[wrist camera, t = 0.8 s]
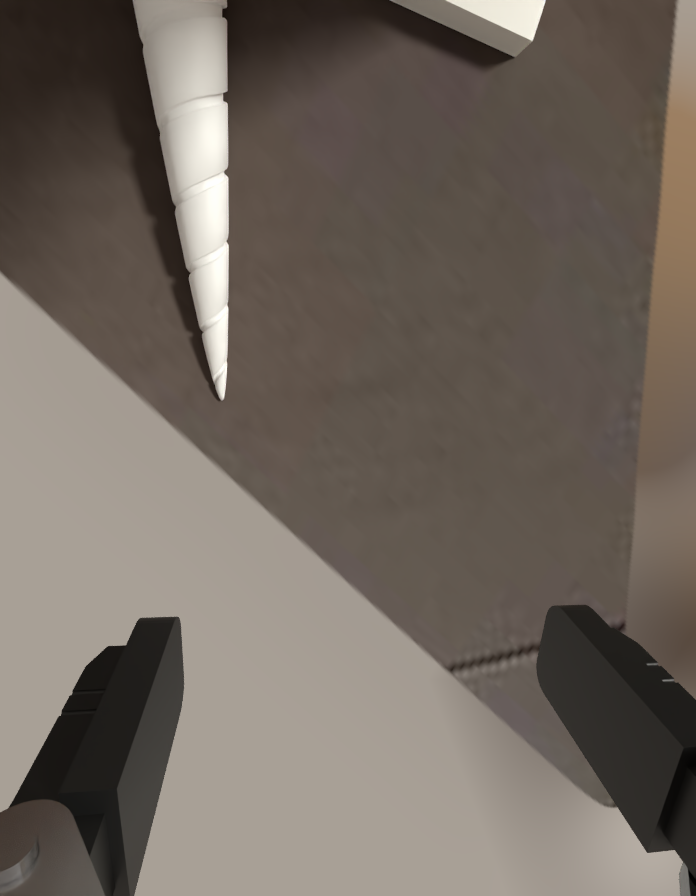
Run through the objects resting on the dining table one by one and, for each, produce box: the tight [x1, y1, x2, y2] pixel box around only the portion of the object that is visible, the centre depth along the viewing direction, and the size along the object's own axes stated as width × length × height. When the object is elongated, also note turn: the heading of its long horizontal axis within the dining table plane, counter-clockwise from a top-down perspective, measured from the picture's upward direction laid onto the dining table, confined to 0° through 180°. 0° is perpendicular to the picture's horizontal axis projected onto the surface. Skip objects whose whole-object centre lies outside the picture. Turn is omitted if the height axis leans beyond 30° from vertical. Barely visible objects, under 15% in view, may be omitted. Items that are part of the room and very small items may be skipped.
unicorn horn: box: [133, 0, 229, 401], centre depth 26 cm, size 5×24×5 cm, turn 177°
